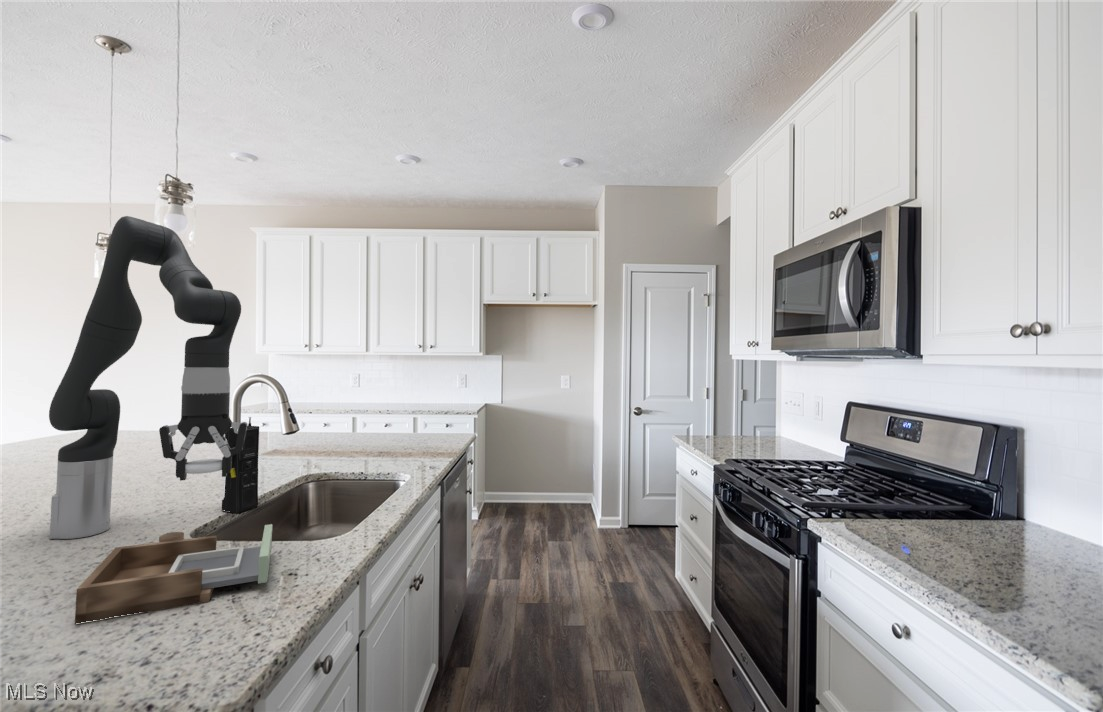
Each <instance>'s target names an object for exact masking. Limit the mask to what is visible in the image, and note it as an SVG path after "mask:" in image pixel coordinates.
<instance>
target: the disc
mask: <svg viewBox="0 0 1103 712" xmlns="http://www.w3.org/2000/svg"><path fill="white" fill-rule="evenodd" d="M220 471H222V458H209V459H207V458H206V459H205V458H204V459H197V460H196V459H195V460H191V461H187V463H186V464H185V473H187V474H190V475H191V474H193V475H194V474H195V475H197V474H198V475H199V474H208V473H215V472H220Z"/></svg>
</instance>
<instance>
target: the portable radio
mask: <svg viewBox="0 0 1103 712" xmlns="http://www.w3.org/2000/svg"><path fill="white" fill-rule="evenodd" d="M248 418H249V421H248V423H247V424H248V425H247V430H246V435H245V440H244V445H243V450H242V451H241V452H240V453H237V454H235V455H233V456H232V469H231V471H230V473H227V476H226V477H224V479H225V480H224V497H223V499H222V500H221V511H222V510H225V511H230V512H232V513H233V514H240V513H244V512H245V511H248V510H252V509H254V508H257V507H258V505H259V450H260V449H259V447H260V446H259V445H260V426H257V425H252V423H251V419H252V417H251V416H248ZM237 436H238V434H237V433H235V432H234V429H233V428H232V427H230V429H229V430H228V431H227V432H226V433H225V434H224V437H225V439H226V440H227V443H228V445H229V447H230V448H234V447H235V446H236V441H237ZM230 512H229V513H230ZM232 513H231V514H232Z"/></svg>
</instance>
